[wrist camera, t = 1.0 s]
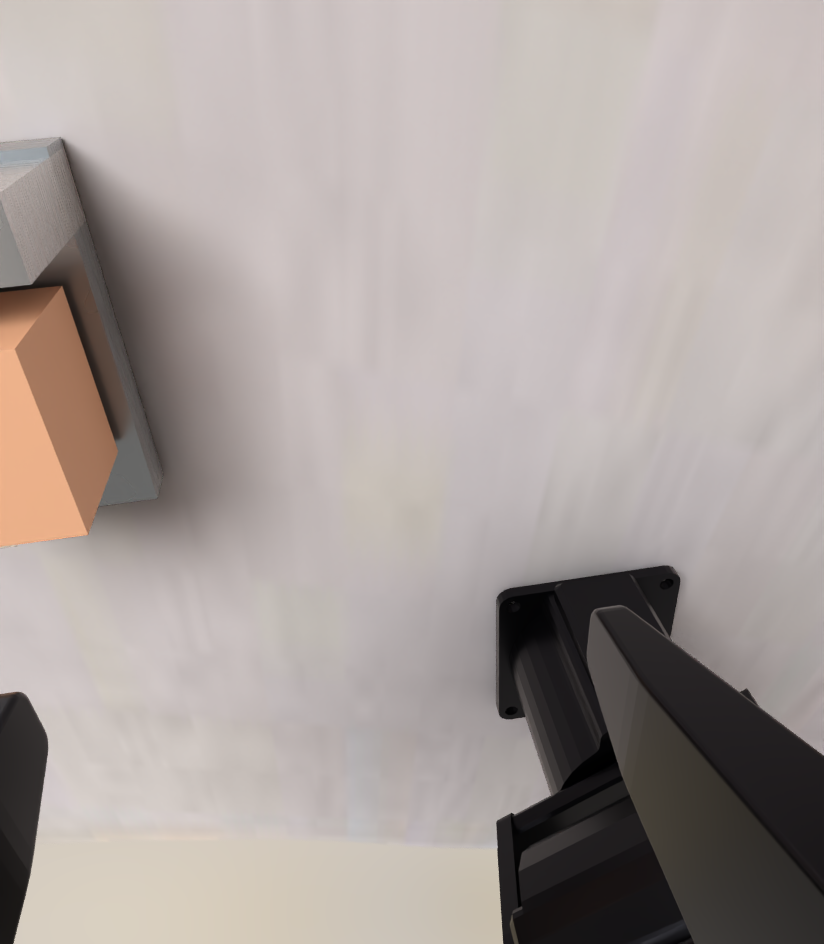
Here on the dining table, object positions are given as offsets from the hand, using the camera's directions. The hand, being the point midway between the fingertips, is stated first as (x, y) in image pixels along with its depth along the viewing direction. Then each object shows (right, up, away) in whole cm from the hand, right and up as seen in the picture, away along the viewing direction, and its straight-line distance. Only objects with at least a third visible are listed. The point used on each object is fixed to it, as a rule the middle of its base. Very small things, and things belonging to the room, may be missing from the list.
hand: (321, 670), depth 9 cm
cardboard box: (-9, +5, +8) cm, 13 cm away
